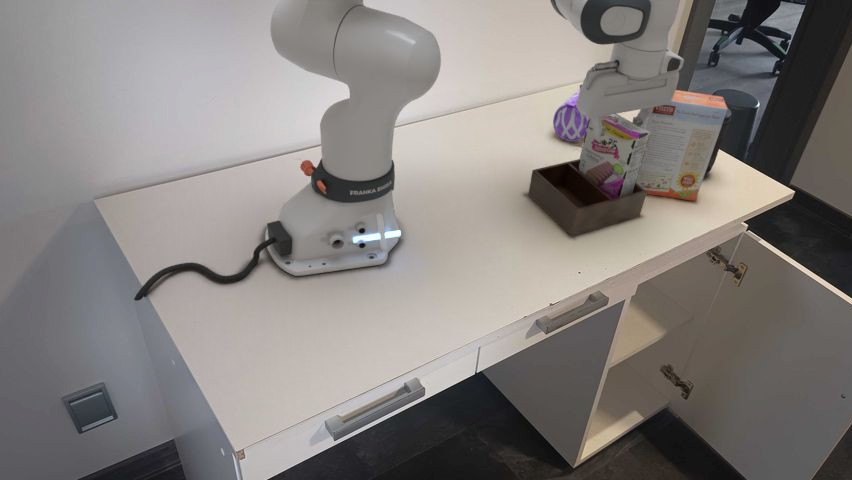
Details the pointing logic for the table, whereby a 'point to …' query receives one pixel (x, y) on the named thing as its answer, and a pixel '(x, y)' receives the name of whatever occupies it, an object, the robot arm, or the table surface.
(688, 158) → the cracker box
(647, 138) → the candy bar box
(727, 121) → the camera lens
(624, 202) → the divided storage box
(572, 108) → the pencil case
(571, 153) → the table surface
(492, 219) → the table surface
